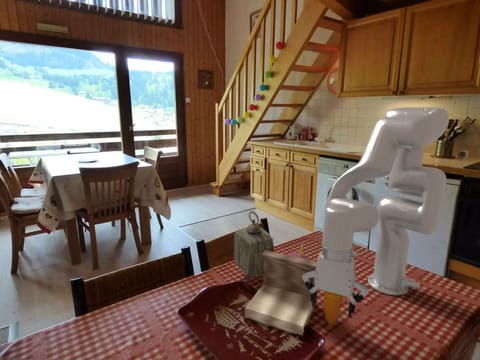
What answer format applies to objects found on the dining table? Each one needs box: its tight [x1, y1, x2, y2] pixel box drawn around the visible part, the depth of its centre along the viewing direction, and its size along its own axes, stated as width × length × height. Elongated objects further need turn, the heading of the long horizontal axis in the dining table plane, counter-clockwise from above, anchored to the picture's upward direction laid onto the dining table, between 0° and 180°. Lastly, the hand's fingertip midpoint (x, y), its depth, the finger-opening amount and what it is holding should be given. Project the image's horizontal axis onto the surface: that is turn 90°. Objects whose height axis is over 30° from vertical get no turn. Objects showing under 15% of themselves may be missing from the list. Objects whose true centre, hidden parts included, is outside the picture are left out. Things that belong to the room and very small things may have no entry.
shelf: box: [244, 250, 317, 337], centre depth 89 cm, size 17×16×15 cm
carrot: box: [322, 291, 344, 327], centre depth 82 cm, size 5×5×15 cm
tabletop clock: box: [233, 210, 275, 281], centre depth 105 cm, size 14×9×25 cm, turn 25°
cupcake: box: [287, 243, 309, 260], centre depth 112 cm, size 9×8×12 cm
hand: (331, 309), depth 83 cm, fingers open, 9 cm apart
